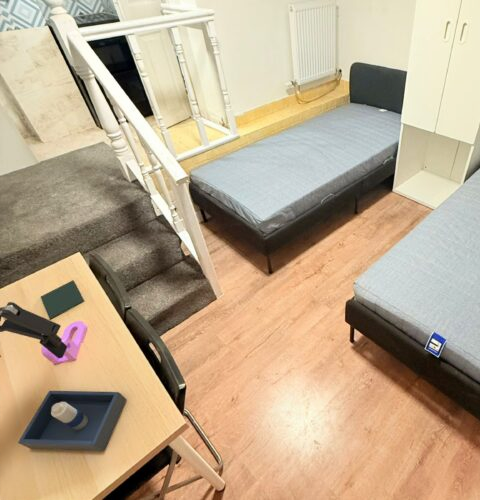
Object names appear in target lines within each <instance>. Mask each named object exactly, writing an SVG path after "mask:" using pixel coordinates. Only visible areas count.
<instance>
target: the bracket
mask: <svg viewBox="0 0 480 500" xmlns="http://www.w3.org/2000/svg"><path fill="white" fill-rule="evenodd" d="M87 330H88V326H87V324H86V323H84V322H83V321H81V320H76V321H74V322H71V323H70V324H68V325H67V326H65V328H64V330H63V333H62V336H61V337H60V338H61V339H62V342H63V343H64V344H65V345H66V346H67V349H66V351H65V353H64V356H63V358H58V357H56V356H55V355H54V354H53V353H51V352H50V351H49V350H48V349H46V348H45V347H44V346H43V345H41V346H42V347H41V355H42V356H43V357H45V359H47V360H48V361H50V363H52V364H53V365H58V364H63V363H67V362H72V361H77V358H78V355H79V352H80V349H81V345H82V343H84V339H85V337H86V333H87ZM74 332H75V335H74ZM73 335H74V337H73ZM72 338H74V339H73V340H72Z"/></svg>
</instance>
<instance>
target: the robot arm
mask: <svg viewBox="0 0 480 500" xmlns="http://www.w3.org/2000/svg"><path fill="white" fill-rule="evenodd" d="M2 318H3V320H4V321H3V323H2V324H0V333H4V332H8V333H11V334H12V333H13V334H16V335H20V336H24V337H27V338H31V339H35V340H39V344H40V345H41V346H44V347H45V348H46V349H48V350H49V351H50V352H51V353H53V354H54V355H55V356H56V357H58V358H63V356H64V353H65V351H66V349H67V346H66V345H65V344H64V343H63V342H62V339H61V338H62V337H60V336H59V335H58V333H59V330H60V328H61V324H59V323H58V322H55V321H52V320H50V319H49V318H45V317H43V316H41V315H38V314H36V313H34V312H32V311H29V310H27V309H24V308H22V307H21V306H19V305H18V304H17V303H16V302H13V301H8V302H7V304H6V306H2V307H0V322H1V321H2ZM1 357H2V355H0V358H1Z"/></svg>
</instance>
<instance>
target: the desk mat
mask: <svg viewBox="0 0 480 500" xmlns="http://www.w3.org/2000/svg"><path fill="white" fill-rule="evenodd" d="M40 300H41V301H42V304H43V307H44V309H45V312H46V314H47V316H48V320H50V321H52V320H53V319H54V318H56V317H58V316H60V315H62V314H64V313H65V312H68V311H69V310H71V309H73V308H75V307H77V306H78V305H81V304H82V303H84V302H85V300H84V298H83V295H82V294H81V292H80V290H79V288H78V286H77V284H76V282H75V280H74V279H73V280H71V281H68V282H67V283H65V284H62V285H60V286H59V287H56V288H55V289H52V290H51V291H49V292H47V293H44V294H43V295H41V296H40Z"/></svg>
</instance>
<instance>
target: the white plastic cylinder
mask: <svg viewBox="0 0 480 500" xmlns="http://www.w3.org/2000/svg"><path fill="white" fill-rule="evenodd" d="M51 415H52V416H53V417H55V418H57V419H58V420H60V421H62V422H63V423H65V424H66V425H68V426H70V427H72V428H74V429H75V430H80V429H82V428H83V427H85V425H86V424H87V422H88V418H87V416H85V415H84V414H83V413H81V412H80V411H78V410H77V409H75V408H73V407H72V406H70V405H69V404H67V403H66V402H60V403H56V404H54V405H53V406H52V411H51Z"/></svg>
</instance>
